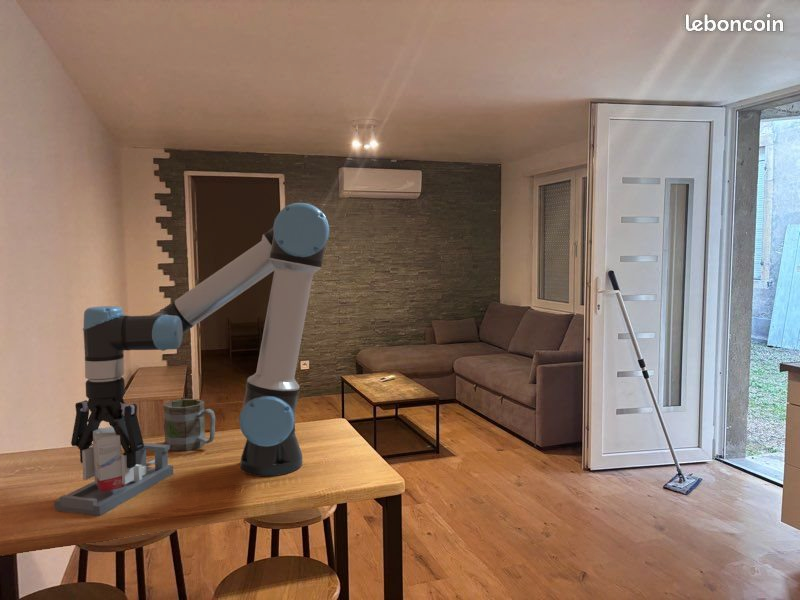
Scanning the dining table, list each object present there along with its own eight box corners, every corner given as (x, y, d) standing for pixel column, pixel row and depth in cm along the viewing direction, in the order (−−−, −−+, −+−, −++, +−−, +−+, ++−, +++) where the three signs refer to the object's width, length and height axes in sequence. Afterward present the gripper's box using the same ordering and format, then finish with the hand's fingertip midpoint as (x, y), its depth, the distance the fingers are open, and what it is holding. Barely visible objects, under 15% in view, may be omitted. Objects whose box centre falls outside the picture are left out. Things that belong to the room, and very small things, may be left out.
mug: (155, 449, 159) (154, 405, 158) (184, 438, 169) (183, 397, 168) (200, 456, 153) (199, 411, 152) (228, 444, 163) (227, 402, 162)
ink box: (124, 488, 125) (122, 434, 125) (97, 494, 123) (96, 438, 122) (118, 476, 133) (116, 425, 132) (93, 480, 130) (91, 428, 129)
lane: (173, 473, 141) (172, 445, 140) (99, 516, 118) (98, 482, 117) (134, 469, 144) (133, 441, 143) (54, 510, 120) (53, 477, 120)
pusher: (172, 464, 144) (171, 449, 144) (139, 482, 132) (138, 466, 132) (148, 461, 145) (147, 447, 145) (113, 479, 134) (113, 463, 134)
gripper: (160, 377, 127) (163, 478, 128) (76, 372, 132) (79, 469, 134) (137, 384, 120) (140, 491, 121) (48, 379, 125) (52, 481, 127)
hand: (108, 479), depth 127 cm, fingers closed on ink box, 9 cm apart
